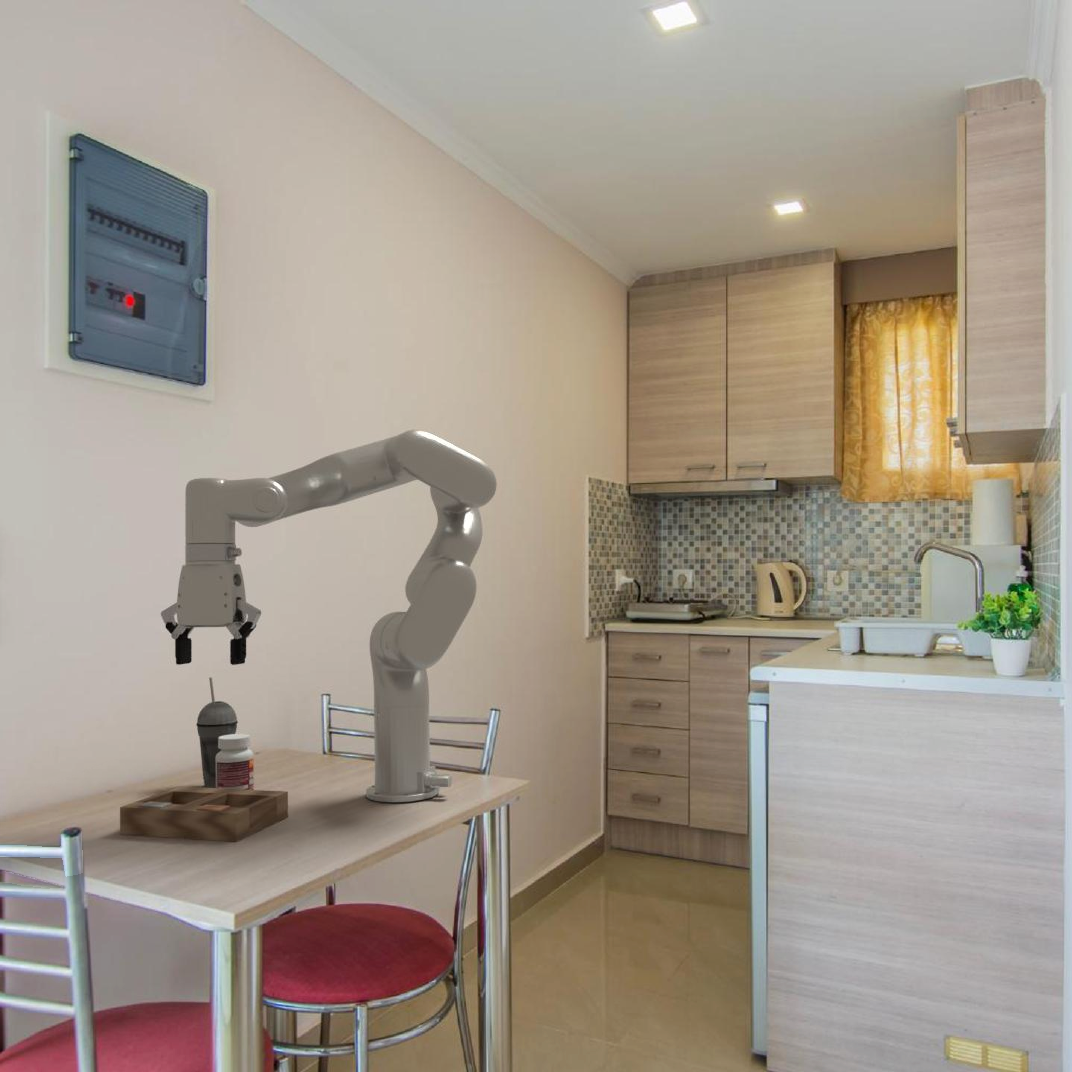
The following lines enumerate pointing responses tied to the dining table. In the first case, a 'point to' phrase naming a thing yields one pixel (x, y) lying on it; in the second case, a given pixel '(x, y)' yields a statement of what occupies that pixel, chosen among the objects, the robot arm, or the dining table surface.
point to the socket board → (204, 813)
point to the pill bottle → (234, 763)
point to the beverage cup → (213, 734)
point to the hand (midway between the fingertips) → (210, 663)
